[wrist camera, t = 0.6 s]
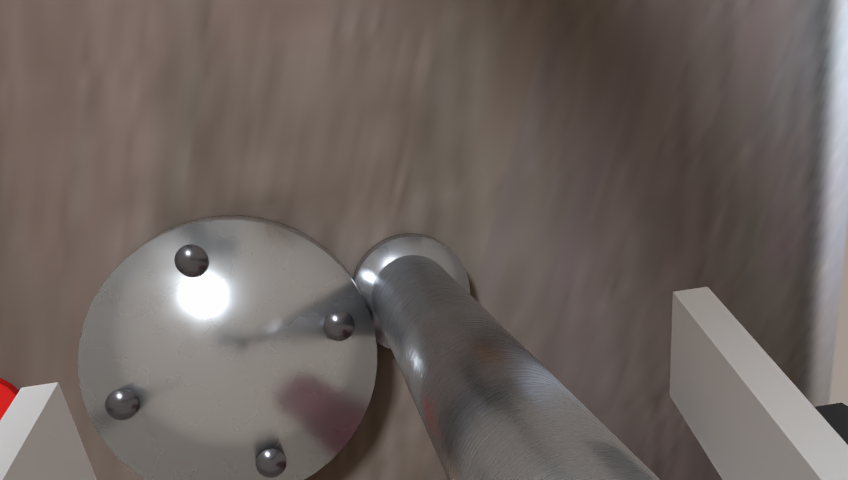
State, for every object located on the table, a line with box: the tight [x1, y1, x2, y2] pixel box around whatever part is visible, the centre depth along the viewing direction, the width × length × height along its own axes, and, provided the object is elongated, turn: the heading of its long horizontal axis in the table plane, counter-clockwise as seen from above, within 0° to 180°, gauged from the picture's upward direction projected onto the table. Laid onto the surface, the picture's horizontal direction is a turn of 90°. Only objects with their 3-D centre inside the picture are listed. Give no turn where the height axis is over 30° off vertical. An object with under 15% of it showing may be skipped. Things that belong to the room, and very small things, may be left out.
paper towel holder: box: [78, 215, 660, 480], centre depth 28 cm, size 15×21×28 cm
